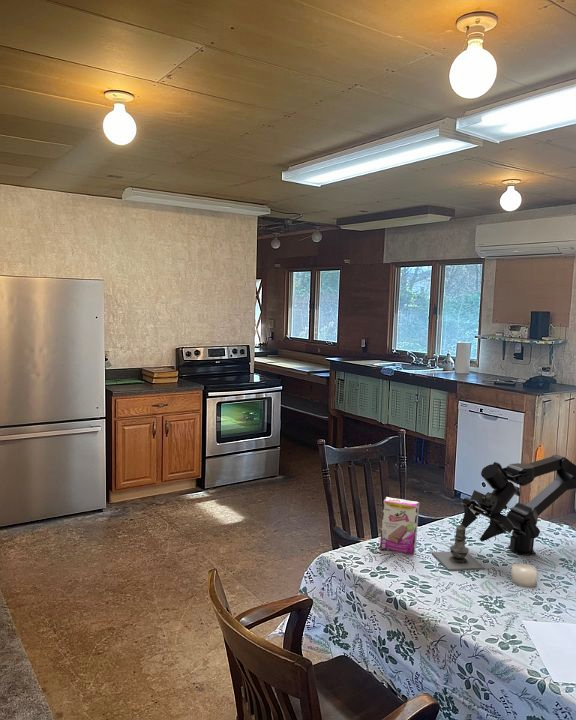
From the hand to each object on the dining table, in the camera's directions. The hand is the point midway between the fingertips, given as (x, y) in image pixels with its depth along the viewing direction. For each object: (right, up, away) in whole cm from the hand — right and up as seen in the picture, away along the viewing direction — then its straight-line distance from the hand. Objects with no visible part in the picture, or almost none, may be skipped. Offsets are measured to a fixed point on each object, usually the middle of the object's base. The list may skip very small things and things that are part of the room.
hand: (470, 535), depth 185 cm
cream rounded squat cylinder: (+12, -10, -12) cm, 20 cm away
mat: (-4, -8, -1) cm, 9 cm away
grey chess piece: (-4, -8, -1) cm, 9 cm away
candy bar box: (-22, -7, +6) cm, 24 cm away
